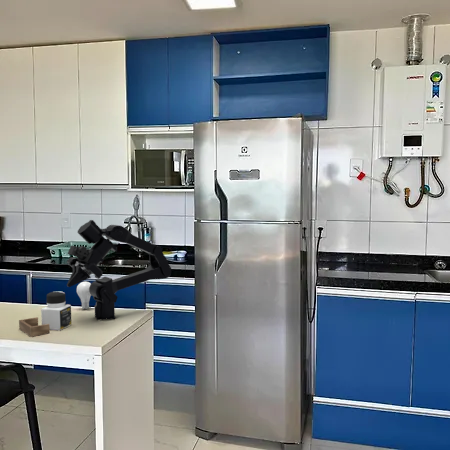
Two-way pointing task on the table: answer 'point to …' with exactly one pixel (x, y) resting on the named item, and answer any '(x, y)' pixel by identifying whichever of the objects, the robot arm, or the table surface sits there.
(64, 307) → the medicine bottle
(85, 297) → the lightbulb
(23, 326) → the corral
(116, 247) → the robot arm
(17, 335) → the table surface
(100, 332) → the table surface
